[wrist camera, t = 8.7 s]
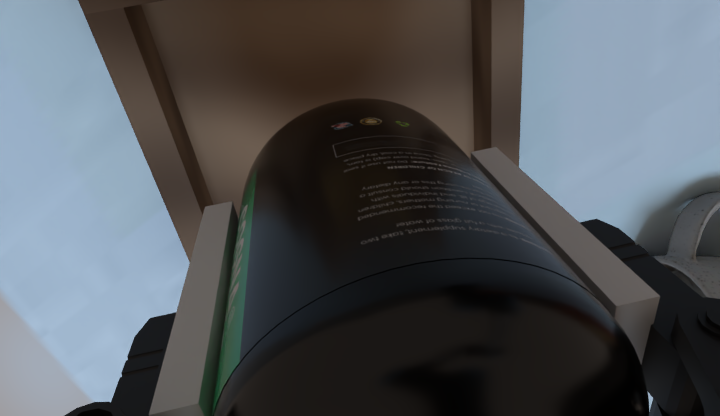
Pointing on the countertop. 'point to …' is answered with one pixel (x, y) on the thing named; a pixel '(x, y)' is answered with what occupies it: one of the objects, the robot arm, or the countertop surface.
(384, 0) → the framed wooden board
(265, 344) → the supplement bottle
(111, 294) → the countertop surface
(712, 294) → the ceramic mug
